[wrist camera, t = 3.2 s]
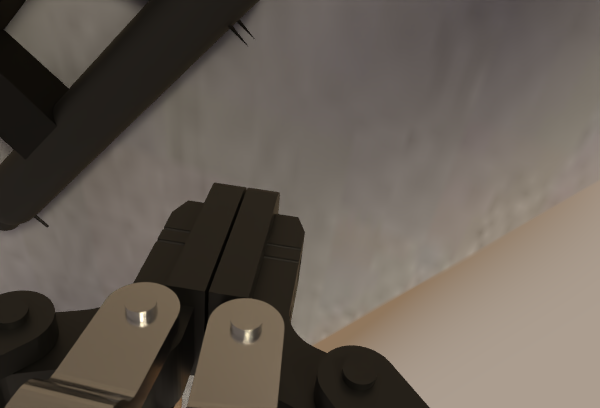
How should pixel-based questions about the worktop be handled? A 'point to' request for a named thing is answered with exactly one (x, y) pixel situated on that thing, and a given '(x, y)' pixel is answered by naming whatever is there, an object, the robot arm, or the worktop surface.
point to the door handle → (92, 95)
